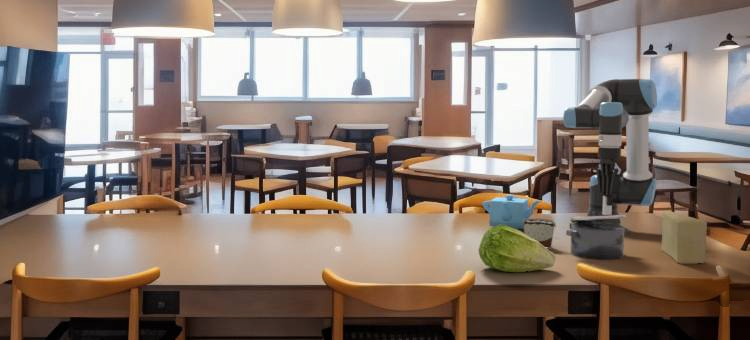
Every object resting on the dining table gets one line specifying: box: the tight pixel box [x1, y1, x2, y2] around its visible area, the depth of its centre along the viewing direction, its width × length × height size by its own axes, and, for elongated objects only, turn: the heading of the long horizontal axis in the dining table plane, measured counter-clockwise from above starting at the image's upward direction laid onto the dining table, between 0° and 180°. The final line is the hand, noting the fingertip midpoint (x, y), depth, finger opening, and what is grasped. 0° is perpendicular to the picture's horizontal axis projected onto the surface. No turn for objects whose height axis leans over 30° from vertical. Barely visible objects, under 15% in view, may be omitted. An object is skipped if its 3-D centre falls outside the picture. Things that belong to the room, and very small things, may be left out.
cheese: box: [661, 210, 708, 265], centre depth 247 cm, size 22×10×15 cm, turn 2°
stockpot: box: [565, 222, 629, 261], centre depth 252 cm, size 20×23×10 cm
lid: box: [569, 211, 627, 223], centre depth 251 cm, size 20×19×4 cm
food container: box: [522, 217, 557, 249], centre depth 265 cm, size 12×6×10 cm, turn 71°
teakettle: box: [482, 194, 542, 230], centre depth 298 cm, size 19×19×15 cm
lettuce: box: [478, 224, 557, 273], centre depth 227 cm, size 15×24×16 cm
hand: (606, 214), depth 245 cm, fingers closed
